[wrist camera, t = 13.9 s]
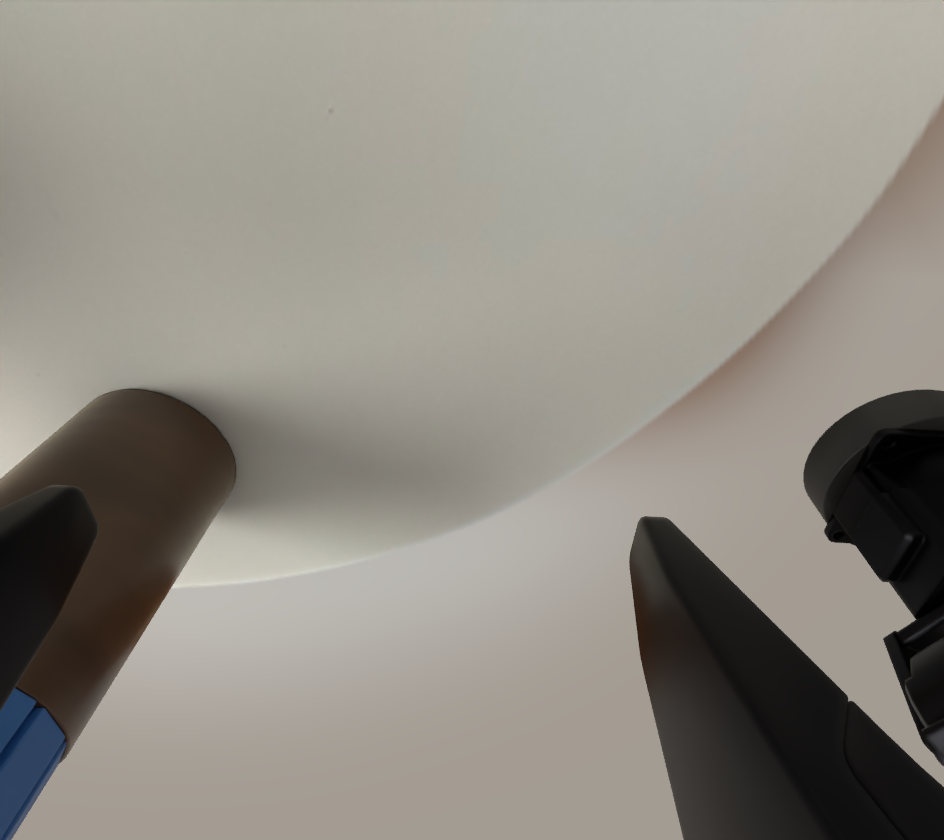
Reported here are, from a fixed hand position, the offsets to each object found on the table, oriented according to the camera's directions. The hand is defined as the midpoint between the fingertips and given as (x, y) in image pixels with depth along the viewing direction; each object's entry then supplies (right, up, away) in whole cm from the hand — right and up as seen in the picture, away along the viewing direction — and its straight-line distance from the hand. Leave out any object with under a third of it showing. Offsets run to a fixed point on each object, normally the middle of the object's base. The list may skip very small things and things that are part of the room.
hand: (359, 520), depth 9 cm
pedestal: (-12, 0, +15) cm, 19 cm away
